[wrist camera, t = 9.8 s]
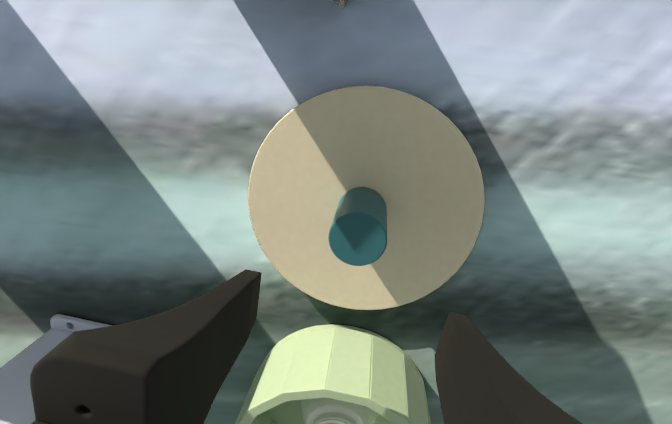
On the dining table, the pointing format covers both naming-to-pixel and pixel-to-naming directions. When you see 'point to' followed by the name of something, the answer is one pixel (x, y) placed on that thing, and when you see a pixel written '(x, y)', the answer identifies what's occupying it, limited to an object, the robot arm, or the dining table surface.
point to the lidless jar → (335, 412)
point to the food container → (340, 2)
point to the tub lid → (366, 197)
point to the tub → (336, 377)
